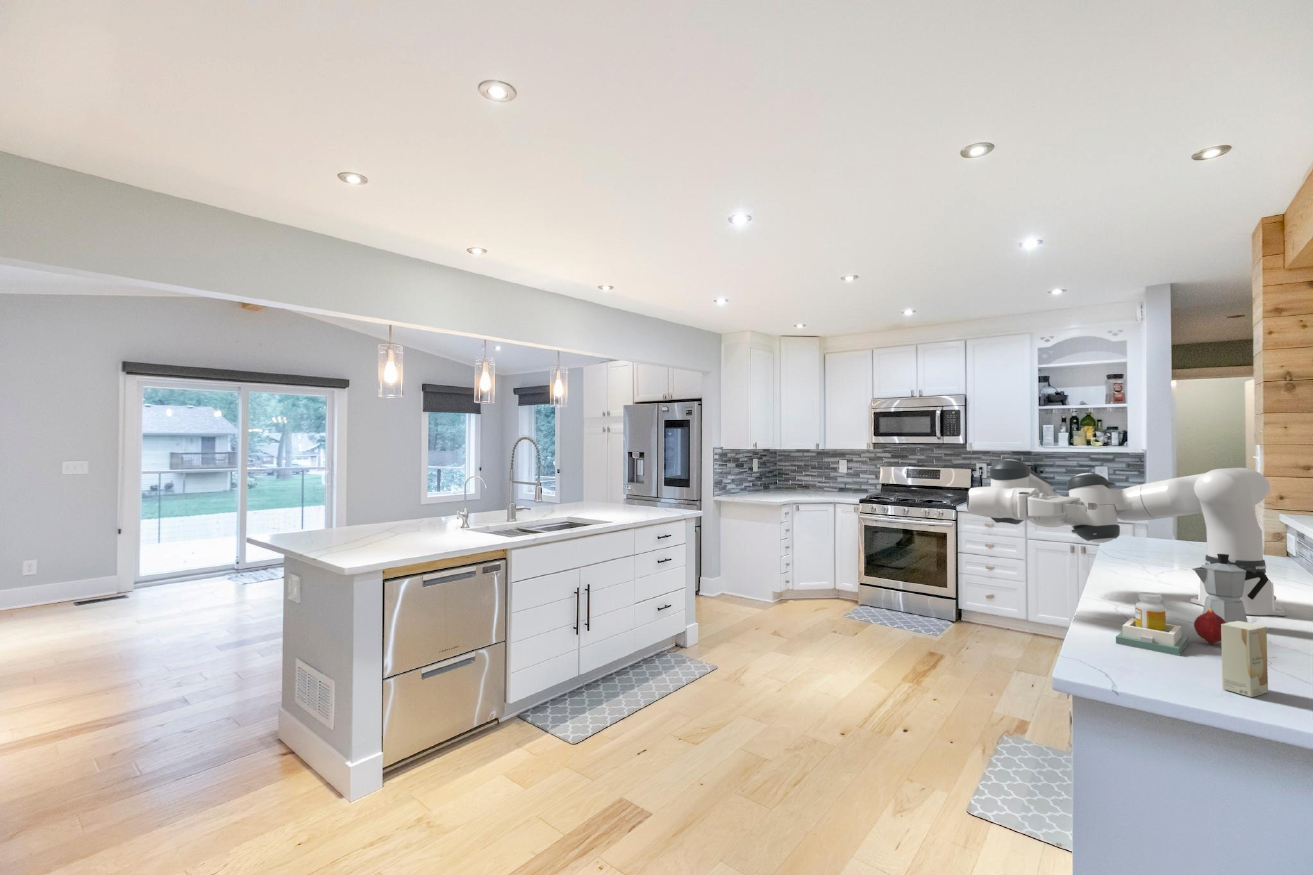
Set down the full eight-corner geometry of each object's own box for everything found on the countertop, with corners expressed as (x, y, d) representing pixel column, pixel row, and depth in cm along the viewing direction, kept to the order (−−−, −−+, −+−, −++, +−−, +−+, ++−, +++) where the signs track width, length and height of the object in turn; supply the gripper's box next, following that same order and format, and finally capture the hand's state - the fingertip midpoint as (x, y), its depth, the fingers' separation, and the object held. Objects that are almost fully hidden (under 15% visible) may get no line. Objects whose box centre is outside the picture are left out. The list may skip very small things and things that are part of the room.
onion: (1236, 649, 131) (1235, 613, 131) (1206, 647, 133) (1205, 611, 133) (1217, 640, 137) (1216, 606, 137) (1188, 639, 138) (1187, 605, 138)
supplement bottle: (1171, 638, 135) (1170, 595, 135) (1158, 641, 132) (1157, 598, 132) (1143, 631, 139) (1142, 590, 140) (1131, 634, 137) (1129, 593, 137)
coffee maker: (1201, 627, 147) (1199, 555, 147) (1185, 618, 155) (1183, 549, 155) (1280, 634, 141) (1278, 559, 142) (1258, 623, 149) (1256, 552, 150)
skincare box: (1252, 698, 106) (1250, 630, 106) (1221, 689, 110) (1219, 623, 110) (1270, 692, 108) (1268, 625, 109) (1239, 683, 112) (1237, 619, 113)
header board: (1128, 632, 144) (1128, 615, 144) (1188, 643, 135) (1188, 625, 135) (1115, 643, 136) (1115, 625, 136) (1178, 655, 128) (1178, 637, 128)
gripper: (1043, 512, 166) (1103, 516, 155) (1016, 518, 153) (1080, 523, 142) (1042, 490, 166) (1102, 492, 156) (1016, 494, 153) (1079, 497, 142)
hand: (1091, 507), depth 149 cm, fingers open, 8 cm apart
